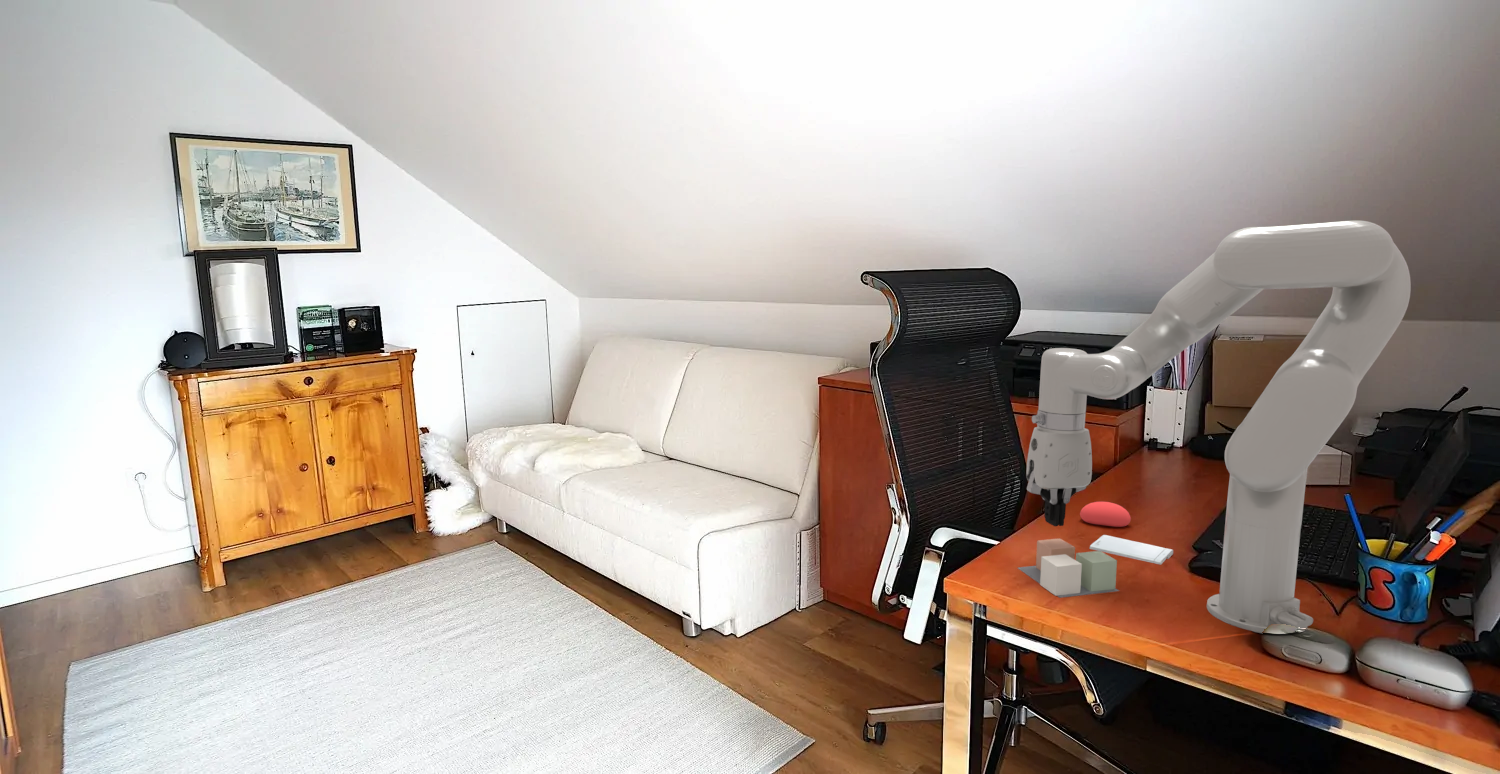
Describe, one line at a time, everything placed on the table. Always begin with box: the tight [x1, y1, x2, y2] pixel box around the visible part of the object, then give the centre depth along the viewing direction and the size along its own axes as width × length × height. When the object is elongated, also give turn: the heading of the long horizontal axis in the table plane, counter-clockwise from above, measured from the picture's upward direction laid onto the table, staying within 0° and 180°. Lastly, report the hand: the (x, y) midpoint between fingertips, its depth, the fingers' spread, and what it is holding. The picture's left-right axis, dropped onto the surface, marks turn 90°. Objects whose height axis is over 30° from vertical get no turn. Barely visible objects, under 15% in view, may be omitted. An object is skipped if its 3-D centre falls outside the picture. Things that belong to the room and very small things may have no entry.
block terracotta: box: [1035, 538, 1076, 571], centre depth 138 cm, size 4×4×5 cm
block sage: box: [1075, 550, 1118, 592], centre depth 132 cm, size 4×4×5 cm
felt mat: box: [1017, 565, 1120, 599], centre depth 135 cm, size 13×11×1 cm
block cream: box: [1039, 554, 1082, 597], centre depth 131 cm, size 4×4×5 cm
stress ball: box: [1079, 501, 1132, 528], centre depth 163 cm, size 5×9×6 cm, turn 52°
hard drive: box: [1089, 534, 1174, 565], centre depth 148 cm, size 2×8×12 cm
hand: (1054, 523), depth 137 cm, fingers closed
